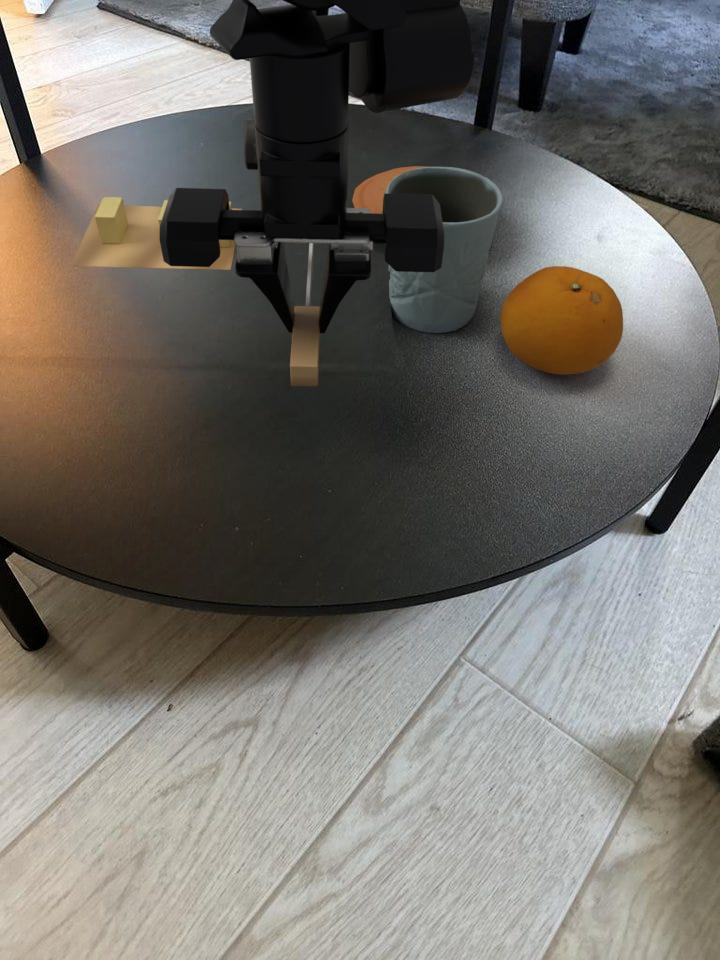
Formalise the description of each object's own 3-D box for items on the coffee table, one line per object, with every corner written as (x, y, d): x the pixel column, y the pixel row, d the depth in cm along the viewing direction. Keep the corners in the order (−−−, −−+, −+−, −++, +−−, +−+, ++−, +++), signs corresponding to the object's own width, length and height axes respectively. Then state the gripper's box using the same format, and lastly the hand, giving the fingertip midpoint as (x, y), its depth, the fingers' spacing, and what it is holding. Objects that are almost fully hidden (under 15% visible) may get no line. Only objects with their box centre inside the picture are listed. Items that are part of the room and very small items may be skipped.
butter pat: (101, 243, 76) (94, 216, 74) (109, 223, 79) (103, 197, 77) (120, 244, 76) (114, 217, 74) (128, 223, 79) (122, 197, 77)
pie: (447, 288, 75) (454, 245, 71) (324, 239, 80) (324, 196, 77) (514, 225, 84) (523, 183, 80) (398, 184, 89) (402, 143, 85)
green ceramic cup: (502, 312, 73) (526, 197, 64) (429, 353, 68) (445, 236, 59) (430, 267, 78) (443, 154, 68) (358, 302, 73) (361, 187, 64)
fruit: (573, 410, 64) (599, 336, 58) (474, 356, 68) (488, 282, 62) (629, 353, 69) (658, 280, 63) (533, 307, 73) (552, 234, 67)
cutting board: (73, 276, 74) (70, 265, 74) (100, 214, 82) (97, 204, 81) (232, 279, 75) (230, 269, 74) (243, 218, 83) (242, 208, 82)
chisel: (318, 387, 54) (317, 366, 52) (290, 386, 54) (289, 365, 52) (323, 254, 65) (323, 234, 63) (300, 254, 65) (300, 233, 63)
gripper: (442, 75, 50) (421, 272, 62) (169, 67, 50) (199, 267, 62) (458, 150, 43) (430, 358, 55) (137, 141, 42) (179, 352, 54)
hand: (307, 329), depth 57 cm, fingers closed on chisel, 2 cm apart
